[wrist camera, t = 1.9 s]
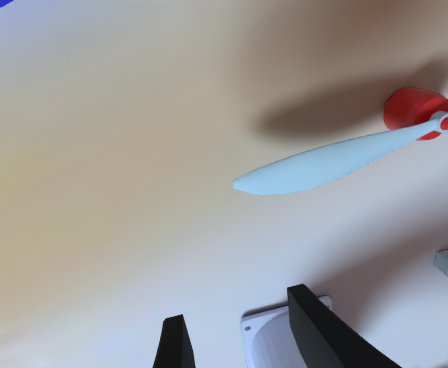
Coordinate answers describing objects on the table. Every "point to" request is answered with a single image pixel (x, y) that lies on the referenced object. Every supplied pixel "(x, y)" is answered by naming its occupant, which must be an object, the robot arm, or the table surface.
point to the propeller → (353, 147)
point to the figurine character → (4, 2)
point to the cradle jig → (442, 261)
